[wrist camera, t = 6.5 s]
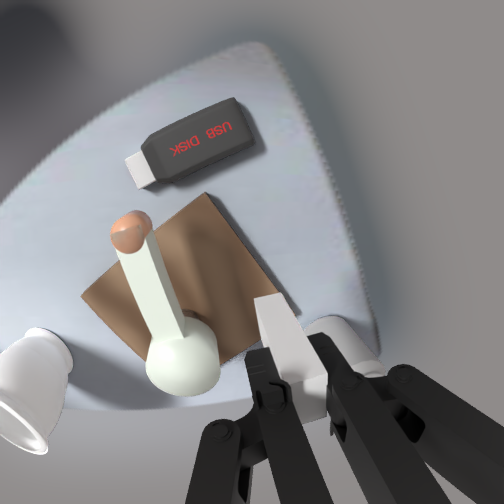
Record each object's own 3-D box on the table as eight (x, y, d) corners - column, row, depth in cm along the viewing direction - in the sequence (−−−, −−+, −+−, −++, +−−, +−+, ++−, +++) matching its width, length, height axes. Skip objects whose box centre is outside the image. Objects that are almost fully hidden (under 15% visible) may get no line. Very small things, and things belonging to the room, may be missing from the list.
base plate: (178, 381, 34) (178, 389, 32) (85, 290, 28) (80, 296, 26) (292, 309, 33) (295, 315, 32) (205, 191, 27) (205, 193, 26)
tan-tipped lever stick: (225, 360, 27) (229, 388, 23) (166, 374, 26) (163, 401, 22) (170, 198, 21) (163, 205, 17) (99, 221, 20) (81, 233, 17)
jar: (83, 339, 30) (42, 425, 16) (78, 388, 32) (51, 465, 18) (19, 307, 27) (-38, 373, 13) (22, 359, 29) (-18, 425, 15)
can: (333, 359, 37) (371, 417, 26) (287, 356, 35) (317, 423, 24) (354, 315, 35) (404, 369, 24) (307, 308, 33) (350, 370, 22)
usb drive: (254, 144, 27) (259, 142, 24) (147, 196, 27) (141, 199, 24) (233, 100, 25) (236, 93, 23) (126, 152, 25) (118, 151, 22)
